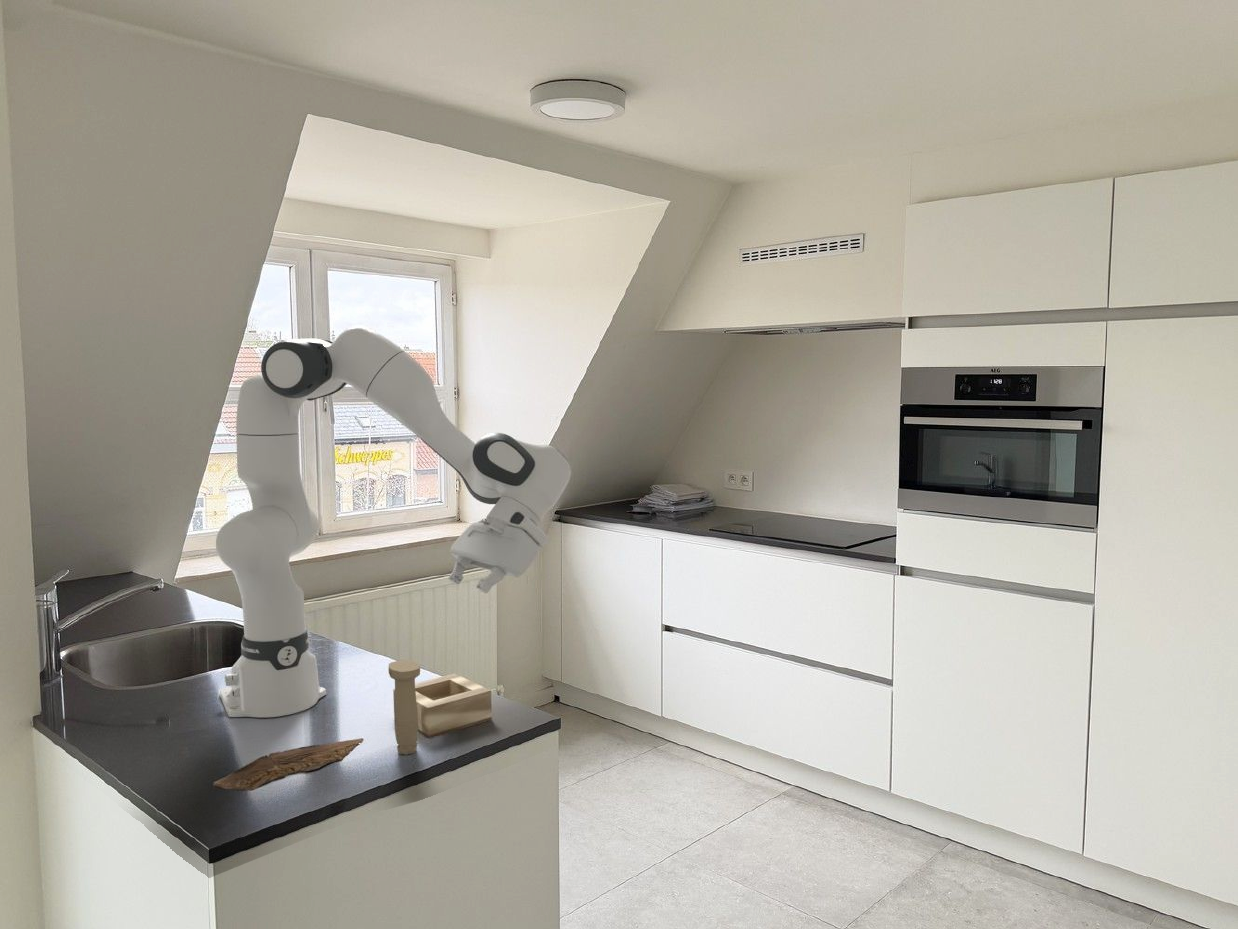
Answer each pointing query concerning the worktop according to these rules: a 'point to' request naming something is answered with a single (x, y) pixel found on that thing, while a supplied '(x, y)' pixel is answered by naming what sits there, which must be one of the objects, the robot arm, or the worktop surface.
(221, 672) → the worktop surface
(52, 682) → the worktop surface
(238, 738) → the worktop surface
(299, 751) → the wooden fragment
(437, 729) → the socket block
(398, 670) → the handle
